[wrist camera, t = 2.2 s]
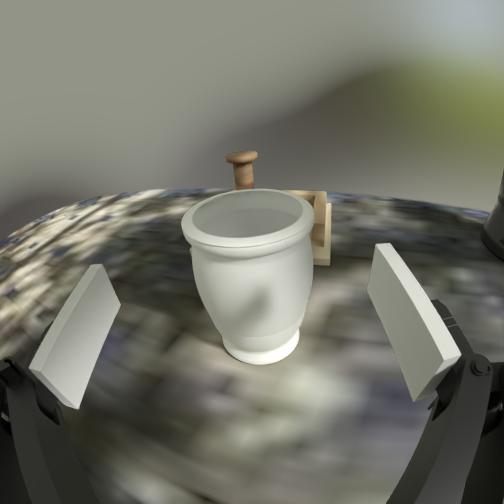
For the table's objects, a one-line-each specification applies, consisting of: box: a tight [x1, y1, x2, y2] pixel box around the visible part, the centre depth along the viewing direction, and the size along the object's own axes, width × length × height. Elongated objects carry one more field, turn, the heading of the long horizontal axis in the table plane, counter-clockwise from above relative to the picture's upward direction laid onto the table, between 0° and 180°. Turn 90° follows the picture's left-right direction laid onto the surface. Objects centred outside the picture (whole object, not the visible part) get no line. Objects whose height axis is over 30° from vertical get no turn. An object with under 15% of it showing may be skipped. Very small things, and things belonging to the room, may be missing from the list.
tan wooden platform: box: [190, 151, 331, 266], centre depth 47 cm, size 22×20×12 cm
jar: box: [181, 189, 314, 365], centre depth 26 cm, size 11×10×15 cm
